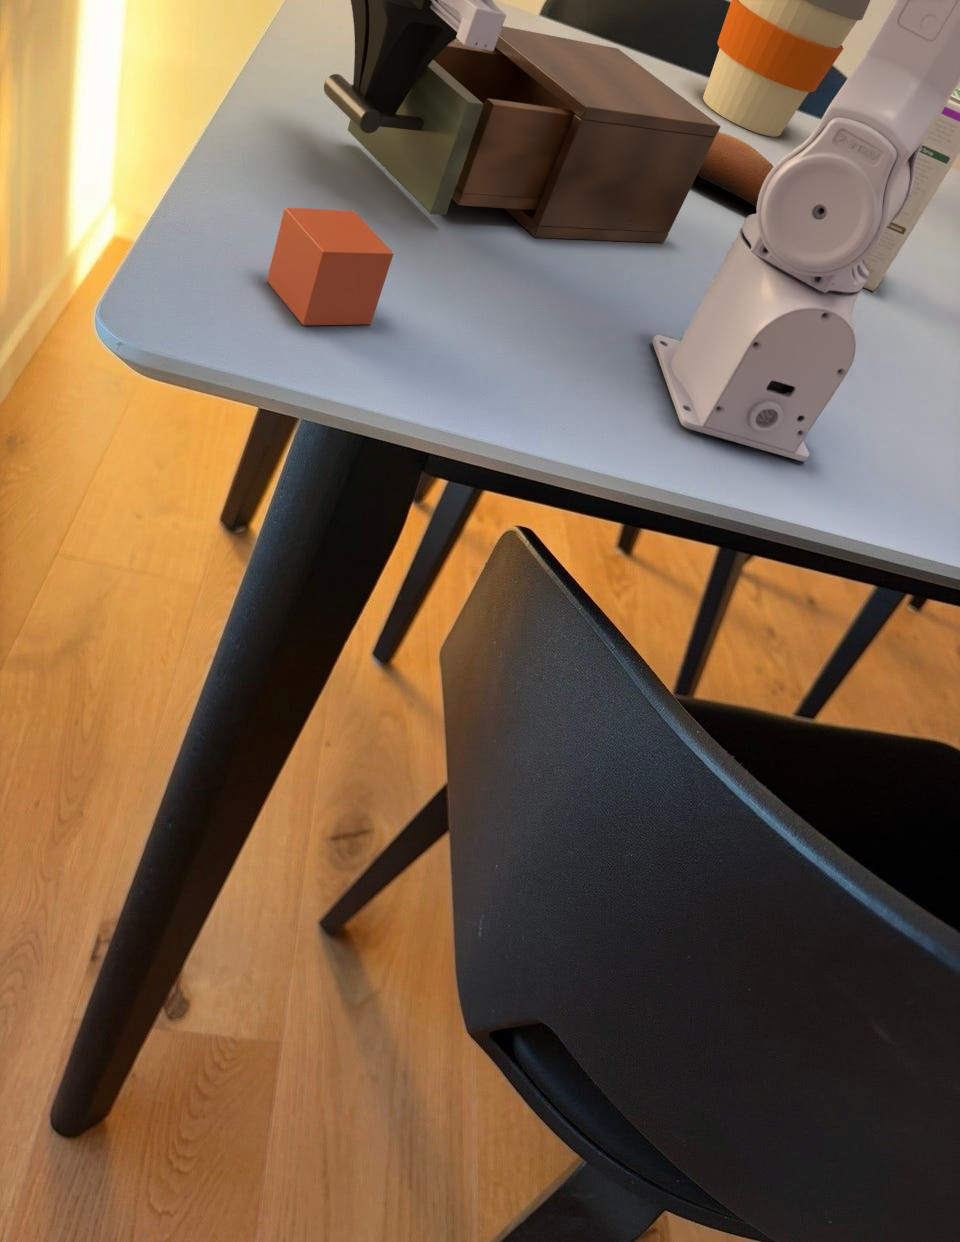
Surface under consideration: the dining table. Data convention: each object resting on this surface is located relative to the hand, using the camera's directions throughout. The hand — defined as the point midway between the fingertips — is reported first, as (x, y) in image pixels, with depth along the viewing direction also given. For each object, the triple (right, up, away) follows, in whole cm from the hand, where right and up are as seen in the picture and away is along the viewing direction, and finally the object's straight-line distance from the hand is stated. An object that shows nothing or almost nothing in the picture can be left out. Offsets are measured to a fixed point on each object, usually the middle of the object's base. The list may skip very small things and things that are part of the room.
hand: (371, 115), depth 66 cm
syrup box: (+36, -1, +24) cm, 43 cm away
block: (-2, -14, -10) cm, 17 cm away
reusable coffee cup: (+34, +22, +49) cm, 63 cm away
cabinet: (+12, 0, +12) cm, 17 cm away
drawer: (+3, -1, +5) cm, 6 cm away
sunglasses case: (+23, +9, +28) cm, 37 cm away
